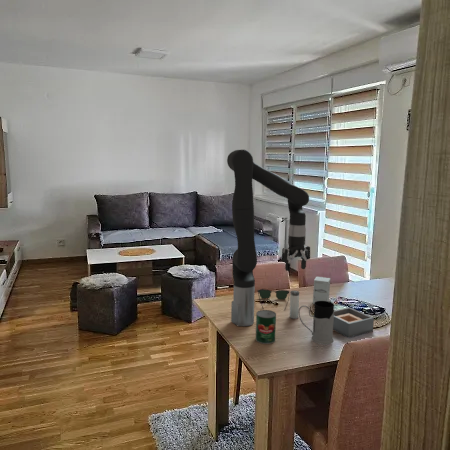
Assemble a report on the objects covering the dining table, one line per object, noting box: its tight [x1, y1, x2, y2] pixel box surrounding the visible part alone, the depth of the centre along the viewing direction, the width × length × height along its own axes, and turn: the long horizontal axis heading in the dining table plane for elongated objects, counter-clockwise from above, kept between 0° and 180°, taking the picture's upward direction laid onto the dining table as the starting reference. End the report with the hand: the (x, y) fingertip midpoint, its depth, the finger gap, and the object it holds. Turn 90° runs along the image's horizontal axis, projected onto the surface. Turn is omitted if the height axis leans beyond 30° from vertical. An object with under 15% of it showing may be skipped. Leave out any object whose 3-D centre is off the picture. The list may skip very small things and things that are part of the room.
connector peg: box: [289, 290, 300, 320], centre depth 185 cm, size 4×4×12 cm
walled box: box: [333, 307, 375, 339], centre depth 173 cm, size 14×14×6 cm
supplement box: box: [312, 276, 331, 305], centre depth 204 cm, size 7×7×13 cm
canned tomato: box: [255, 309, 277, 345], centre depth 161 cm, size 8×8×11 cm
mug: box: [298, 301, 335, 345], centre depth 162 cm, size 9×14×15 cm, turn 81°
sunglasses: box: [257, 289, 290, 310], centre depth 203 cm, size 16×17×5 cm
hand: (295, 269), depth 182 cm, fingers open, 8 cm apart
